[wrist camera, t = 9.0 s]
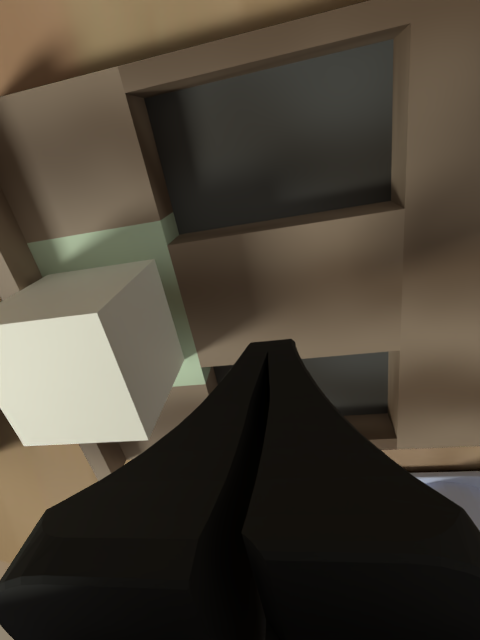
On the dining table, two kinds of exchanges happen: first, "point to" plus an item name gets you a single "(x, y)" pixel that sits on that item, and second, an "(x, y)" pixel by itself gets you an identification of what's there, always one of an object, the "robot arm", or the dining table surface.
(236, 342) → the trap deck
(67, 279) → the block
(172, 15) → the dining table surface
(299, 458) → the robot arm
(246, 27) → the dining table surface
